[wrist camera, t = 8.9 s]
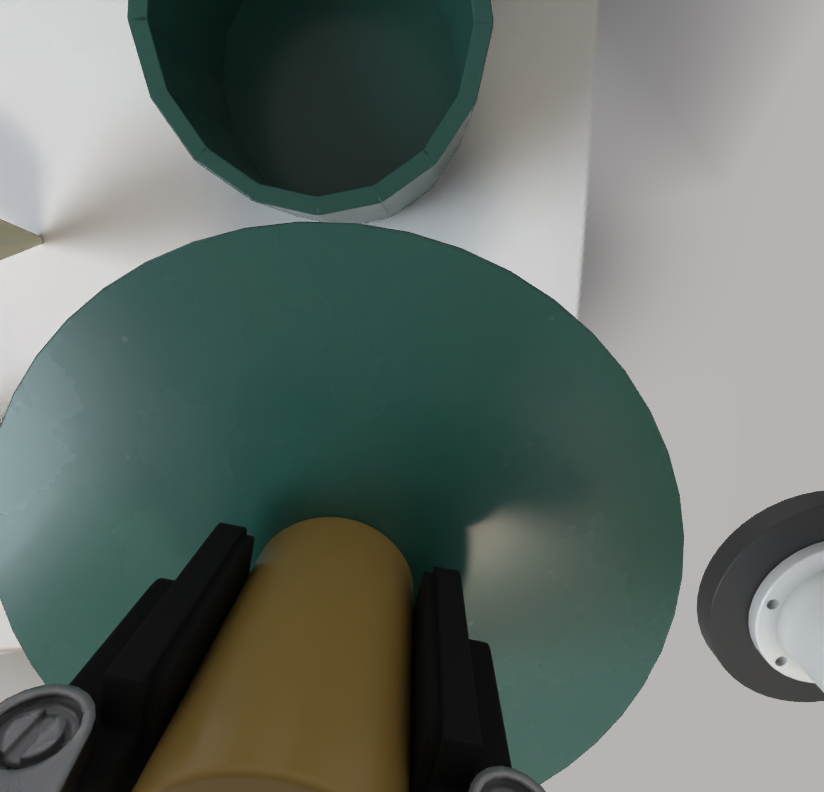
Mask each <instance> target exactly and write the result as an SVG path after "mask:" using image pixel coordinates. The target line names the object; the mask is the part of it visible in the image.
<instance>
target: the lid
mask: <svg viewBox="0 0 824 792" xmlns="http://www.w3.org/2000/svg"><path fill="white" fill-rule="evenodd" d="M220 522H222V523H227V524H232V525H237V526H242V527H246V528H247V535H251V536H254V546H253V553H252V559H251V566H250V572H249V576H248V578H247V580H246V581H245V583H244V585H243V587H242V589H241V591H240V592H239V594H238V596H237V598H236V600H235V602H234V604H233V605H232V607H231V609H230V611H229V613H228V615H227V616H226V618H225V620H224V622H223V624H222V626H221V628H220V629H219V631H218V633H217V635H216V637H215V639H214V640H213V642H212V644H211V646H210V648H209V650H208V652H207V653H206V655H205V657H204V659H203V661H202V663H201V664H200V666H199V668H198V670H197V672H196V674H195V675H194V677H193V679H192V681H191V683H190V685H189V687H188V688H187V690H186V692H185V694H184V696H183V698H182V699H181V701H180V703H179V705H178V707H177V709H176V711H175V712H174V714H173V716H172V718H171V720H170V722H169V723H168V725H167V727H166V729H165V731H164V733H163V735H162V736H161V738H160V740H159V742H158V744H157V746H156V747H155V749H154V751H153V753H152V755H151V757H150V759H149V760H148V762H147V764H146V766H145V768H144V770H143V771H142V773H141V775H140V777H139V779H138V781H137V783H136V784H135V786H134V788H133V790H132V792H409V784H410V733H411V682H412V632H413V609H414V605H415V602H416V598H417V594H418V590H419V587H420V583H421V579H422V576H423V573H424V571H427V572H432V571H433V569H434V567H435V566H437V567H442V568H447V569H452V570H457V571H460V574H461V581H462V588H463V596H464V604H465V612H466V620H467V628H468V635H469V639H472V640H477V641H482V642H487V643H488V645H489V646H490V650H491V655H492V660H493V666H494V671H495V677H496V682H497V688H498V693H499V699H500V705H501V710H502V716H503V721H504V727H505V732H506V738H507V743H508V749H509V755H510V760H511V766H512V768H514V769H516V770H518V771H520V772H522V773H524V774H526V775H528V776H529V777H531V778H532V779H533V780H534V781H536V782H537V783H538V784H539V785H540V784H542V783H543V782H544V781H546V780H548V779H549V778H551V777H552V776H554V775H555V774H557V773H558V772H560V771H562V770H563V769H565V768H566V767H568V766H569V765H570V764H571V763H573V762H574V761H575V760H576V759H577V758H579V757H580V756H581V755H582V754H583V753H585V751H587V750H588V749H589V748H590V747H592V746H593V745H594V744H595V743H596V742H597V741H598V740H599V739H600V738H601V737H602V736H603V735H604V734H605V733H606V732H607V731H608V730H609V729H610V728H611V726H612V725H613V724H614V723H615V722H616V721H617V720H618V719H619V718H620V717H621V716H622V715H623V713H624V711H625V710H626V709H627V707H628V706H629V705H630V703H631V702H632V701H633V699H634V698H635V696H636V695H637V694H638V692H639V691H640V689H641V688H642V687H643V685H644V683H645V682H646V680H647V678H648V676H649V674H650V672H651V670H652V668H653V666H654V664H655V662H656V661H657V659H658V657H659V655H660V653H661V651H662V648H663V646H664V643H665V639H666V637H667V634H668V632H669V629H670V626H671V623H672V621H673V618H674V615H675V609H676V605H677V599H678V595H679V589H680V585H681V580H682V568H683V546H684V532H683V523H682V514H681V504H680V495H679V491H678V487H677V483H676V480H675V476H674V472H673V468H672V464H671V461H670V457H669V453H668V450H667V448H666V446H665V444H664V441H663V439H662V437H661V434H660V432H659V430H658V428H657V425H656V423H655V421H654V418H653V416H652V414H651V412H650V410H649V408H648V406H647V405H646V403H645V402H644V400H643V399H642V397H641V395H640V394H639V392H638V390H637V389H636V387H635V386H634V384H633V383H632V381H631V379H630V378H629V376H628V375H627V373H626V371H625V370H624V369H623V368H622V367H621V365H620V364H619V363H618V362H617V361H616V360H615V358H614V357H613V356H612V355H611V354H610V353H609V351H608V350H607V349H606V348H605V347H604V346H603V344H602V343H601V342H600V341H599V340H598V339H597V337H596V336H595V335H594V334H593V333H592V332H591V331H590V330H589V329H587V328H586V327H585V326H584V325H583V324H582V323H581V322H579V321H578V320H577V319H576V318H575V317H574V316H573V315H571V314H570V313H569V312H568V311H567V310H566V309H564V308H563V307H562V306H561V305H560V304H559V303H558V302H556V301H555V300H554V299H553V298H551V297H549V296H548V295H546V294H545V293H543V292H542V291H540V290H539V289H537V288H536V287H534V286H532V285H531V284H529V283H528V282H526V281H525V280H523V279H522V278H520V277H519V276H517V275H516V274H514V273H512V272H511V271H509V270H507V269H505V268H503V267H500V266H498V265H496V264H494V263H492V262H490V261H488V260H485V259H483V258H481V257H479V256H477V255H475V254H473V253H470V252H468V251H466V250H464V249H462V248H459V247H456V246H453V245H449V244H446V243H443V242H440V241H436V240H433V239H430V238H427V237H423V236H420V235H417V234H414V233H410V232H406V231H400V230H394V229H387V228H381V227H375V226H369V225H363V224H357V223H331V222H292V223H284V224H275V225H266V226H258V227H249V228H243V229H239V230H235V231H232V232H228V233H224V234H220V235H216V236H213V237H209V238H205V239H201V240H198V241H194V242H191V243H189V244H187V245H184V246H182V247H180V248H177V249H175V250H173V251H170V252H168V253H166V254H163V255H161V256H159V257H156V258H154V259H152V260H149V261H147V262H145V263H143V264H142V265H140V266H139V267H137V268H135V269H134V270H132V271H130V272H129V273H127V274H126V275H124V276H122V277H121V278H119V279H118V280H116V281H114V282H113V283H111V284H110V285H108V286H106V287H105V288H103V289H102V290H101V291H100V292H99V293H97V294H96V295H95V296H94V297H93V298H92V299H90V300H89V301H88V302H87V303H86V304H85V305H83V306H82V307H81V308H80V309H79V310H78V311H76V312H75V313H74V314H73V315H72V316H71V317H69V318H68V319H67V320H66V321H65V323H64V324H63V325H62V326H61V327H60V329H59V330H58V331H57V332H56V333H55V334H54V336H53V337H52V338H51V339H50V340H49V342H48V343H47V344H46V345H45V346H44V347H43V349H42V350H41V351H40V352H39V353H38V355H37V356H36V357H35V359H34V361H33V362H32V364H31V366H30V367H29V369H28V371H27V372H26V374H25V376H24V377H23V379H22V381H21V382H20V384H19V386H18V387H17V389H16V391H15V392H14V394H13V396H12V399H11V401H10V404H9V406H8V409H7V411H6V414H5V416H4V419H3V421H2V424H1V426H0V599H1V602H2V604H3V607H4V610H5V612H6V615H7V617H8V620H9V622H10V625H11V628H12V630H13V632H14V634H15V636H16V638H17V639H18V641H19V643H20V645H21V647H22V649H23V650H24V652H25V654H26V656H27V658H28V660H29V661H30V663H31V665H32V666H33V668H34V669H35V671H36V672H37V673H38V675H39V676H40V677H41V679H42V680H43V682H44V683H45V685H49V684H67V685H69V684H70V683H71V681H72V680H73V679H74V678H75V677H76V675H77V674H78V673H79V672H80V671H81V669H82V668H83V667H84V666H85V664H86V663H87V662H88V661H89V660H90V658H91V657H92V656H93V655H94V654H95V652H96V651H97V650H98V649H99V648H100V646H101V645H102V644H103V643H104V641H105V640H106V639H107V638H108V637H109V635H110V634H111V633H112V632H113V631H114V629H115V628H116V627H117V626H118V625H119V623H120V622H121V621H122V620H123V618H124V617H125V616H126V615H127V614H128V612H129V611H130V610H131V609H132V608H133V606H134V605H135V604H136V603H137V601H138V600H139V599H140V598H141V597H142V595H143V594H144V593H145V592H146V591H147V589H148V588H149V587H150V586H151V585H152V584H153V583H154V582H155V581H156V580H157V579H159V578H165V579H170V580H175V579H176V578H177V577H178V575H179V574H180V573H181V572H182V570H183V569H184V568H185V566H186V565H187V564H188V562H189V561H190V560H191V558H192V557H193V556H194V555H195V553H196V552H197V551H198V549H199V548H200V547H201V545H202V544H203V543H204V541H205V540H206V539H207V538H208V536H209V535H210V534H211V532H212V531H213V530H214V528H215V527H216V526H217V525H218V524H219V523H220Z"/></svg>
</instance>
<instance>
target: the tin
mask: <svg viewBox="0 0 824 792" xmlns="http://www.w3.org/2000/svg"><path fill="white" fill-rule="evenodd" d="M128 22H129V25H130V29H131V32H132V36H133V39H134V42H135V46H136V49H137V53H138V56H139V59H140V63H141V66H142V70H143V73H144V77H145V80H146V83H147V87H148V90H149V94H150V97H151V99H152V101H153V102H154V103H155V105H156V106H157V108H158V109H159V111H160V112H161V113H162V115H163V116H164V118H165V119H166V121H167V122H168V123H169V125H170V126H171V128H172V129H173V131H174V132H175V133H176V135H177V136H178V138H179V139H180V140H181V142H182V143H183V145H184V146H185V148H186V149H187V150H188V152H189V153H190V155H191V156H192V158H193V159H194V160H195V161H197V163H199V164H200V165H201V166H203V167H204V168H206V169H207V170H209V171H210V172H212V173H213V174H214V175H216V176H217V177H219V178H220V179H222V180H223V181H225V182H226V183H227V184H229V185H230V186H232V187H233V188H235V189H236V190H237V191H239V192H240V193H242V194H243V195H245V196H246V197H248V198H249V199H250V200H252V201H255V202H257V203H260V204H263V205H265V206H268V207H271V208H274V209H277V210H280V211H283V212H286V213H289V214H292V215H294V216H298V217H302V218H307V219H311V220H316V221H319V222H331V223H357V224H360V223H367V222H371V221H375V220H379V219H384V218H389V217H391V216H393V215H394V214H396V213H397V212H398V211H400V210H402V209H403V208H405V207H407V206H408V205H410V204H411V203H413V202H414V201H415V200H416V199H418V198H419V197H420V196H421V195H423V194H424V193H426V192H427V191H429V190H430V189H431V188H432V187H433V185H434V184H435V182H436V181H437V179H438V177H439V176H440V174H441V173H442V172H443V170H444V169H445V167H446V166H447V164H448V162H449V161H450V159H451V157H452V156H453V154H454V153H455V151H456V150H457V148H458V147H459V145H460V143H461V140H462V137H463V135H464V132H465V130H466V127H467V124H468V122H469V119H470V117H471V114H472V111H473V109H474V106H475V103H476V101H477V97H478V92H479V88H480V83H481V79H482V74H483V70H484V65H485V60H486V56H487V51H488V47H489V42H490V38H491V33H492V29H493V14H492V5H491V0H128Z"/></svg>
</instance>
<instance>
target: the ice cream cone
mask: <svg viewBox="0 0 824 792" xmlns="http://www.w3.org/2000/svg"><path fill="white" fill-rule="evenodd" d="M42 242H43V239H42V238H41V237H40V236H38V235H36V234H34V233H31V232H29V231H27V230H24V229H22V228H20V227H18V226H15V225H13V224H11V223H9V222H6V221H4V220H2V219H0V260H2V259H4V258H7V257H9V256H12V255H14V254H17V253H19V252H22V251H24V250H27V249H29V248H32V247H34V246H37V245H39V244H42Z"/></svg>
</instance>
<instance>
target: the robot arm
mask: <svg viewBox="0 0 824 792" xmlns="http://www.w3.org/2000/svg"><path fill="white" fill-rule="evenodd" d="M253 546H254V536H251V535H247V528H246V527H242V526H237V525H232V524H227V523H222V522H220V523H219V524H218V525H217V526H216V527H215V528H214V530H213V531H212V532H211V534H210V535H209V536H208V538H207V539H206V540H205V541H204V543H203V544H202V545H201V547H200V548H199V549H198V551H197V552H196V553H195V555H194V556H193V557H192V558H191V560H190V561H189V562H188V564H187V565H186V566H185V568H184V569H183V570H182V572H181V573H180V574H179V575H178V577H177V578H176V579H175V580H170V579H165V578H159V579H157V580H156V581H155V582H154V583H153V584H152V585H151V586H150V587H149V588H148V589H147V591H146V592H145V593H144V594H143V595H142V597H141V598H140V599H139V600H138V601H137V603H136V604H135V605H134V606H133V608H132V609H131V610H130V611H129V612H128V614H127V615H126V616H125V617H124V618H123V620H122V621H121V622H120V623H119V625H118V626H117V627H116V628H115V629H114V631H113V632H112V633H111V634H110V635H109V637H108V638H107V639H106V640H105V641H104V643H103V644H102V645H101V646H100V648H99V649H98V650H97V651H96V652H95V654H94V655H93V656H92V657H91V658H90V660H89V661H88V662H87V663H86V664H85V666H84V667H83V668H82V669H81V671H80V672H79V673H78V674H77V675H76V677H75V678H74V679H73V680H72V681H71V683H70V684H69V685H67V684H49V685H42V686H38V687H34V688H31V689H27V690H24V691H22V692H20V693H18V694H16V695H13V696H11V697H9V698H7V699H5V700H4V701H2V702H1V703H0V792H132V790H133V788H134V786H135V784H136V783H137V781H138V779H139V777H140V775H141V773H142V771H143V770H144V768H145V766H146V764H147V762H148V760H149V759H150V757H151V755H152V753H153V751H154V749H155V747H156V746H157V744H158V742H159V740H160V738H161V736H162V735H163V733H164V731H165V729H166V727H167V725H168V723H169V722H170V720H171V718H172V716H173V714H174V712H175V711H176V709H177V707H178V705H179V703H180V701H181V699H182V698H183V696H184V694H185V692H186V690H187V688H188V687H189V685H190V683H191V681H192V679H193V677H194V675H195V674H196V672H197V670H198V668H199V666H200V664H201V663H202V661H203V659H204V657H205V655H206V653H207V652H208V650H209V648H210V646H211V644H212V642H213V640H214V639H215V637H216V635H217V633H218V631H219V629H220V628H221V626H222V624H223V622H224V620H225V618H226V616H227V615H228V613H229V611H230V609H231V607H232V605H233V604H234V602H235V600H236V598H237V596H238V594H239V592H240V591H241V589H242V587H243V585H244V583H245V581H246V580H247V578H248V576H249V572H250V566H251V559H252V553H253ZM748 626H749V632H750V637H751V639H752V641H753V643H754V646H755V647H756V649H757V650H758V651H759V653H760V654H761V655H762V656H763V658H764V659H765V660H766V661H767V662H768V663H769V664H770V665H771V666H772V667H773V668H774V669H775V670H777V671H779V672H780V673H782V674H783V675H785V676H787V677H790V678H793V679H795V680H798V681H803V682H809V683H815V684H816V685H817V686H818V687H819V688H820V689H821V690H822V691H823V692H824V541H823V542H820V543H816V544H813V545H810V546H808V547H806V548H804V549H802V550H800V551H798V552H795V553H794V554H792V555H791V556H789V557H788V558H786V559H785V560H783V561H782V562H781V563H780V564H779V565H777V566H776V567H775V568H774V569H773V570H772V571H771V572H770V573H769V574H768V575H767V577H766V578H765V579H764V580H763V582H762V583H761V584H760V586H759V588H758V590H757V592H756V593H755V595H754V597H753V600H752V603H751V607H750V610H749V620H748ZM409 792H545V790H544V789H543V788H542V787H541V786H540V785H539V784H538V783H537V782H536V781H534V780H533V779H532V778H531V777H529V776H528V775H526V774H524V773H522V772H520V771H518V770H516V769H514V768H512V766H511V760H510V755H509V749H508V743H507V738H506V732H505V727H504V721H503V716H502V710H501V705H500V699H499V693H498V688H497V682H496V677H495V671H494V666H493V660H492V655H491V650H490V646H489V645H488V643H487V642H482V641H477V640H472V639H469V635H468V628H467V620H466V612H465V604H464V596H463V588H462V581H461V574H460V571H457V570H452V569H447V568H442V567H437V566H435V567H434V569H433V571H432V572H427V571H424V573H423V576H422V579H421V583H420V587H419V590H418V594H417V598H416V602H415V605H414V609H413V632H412V682H411V733H410V784H409Z"/></svg>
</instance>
